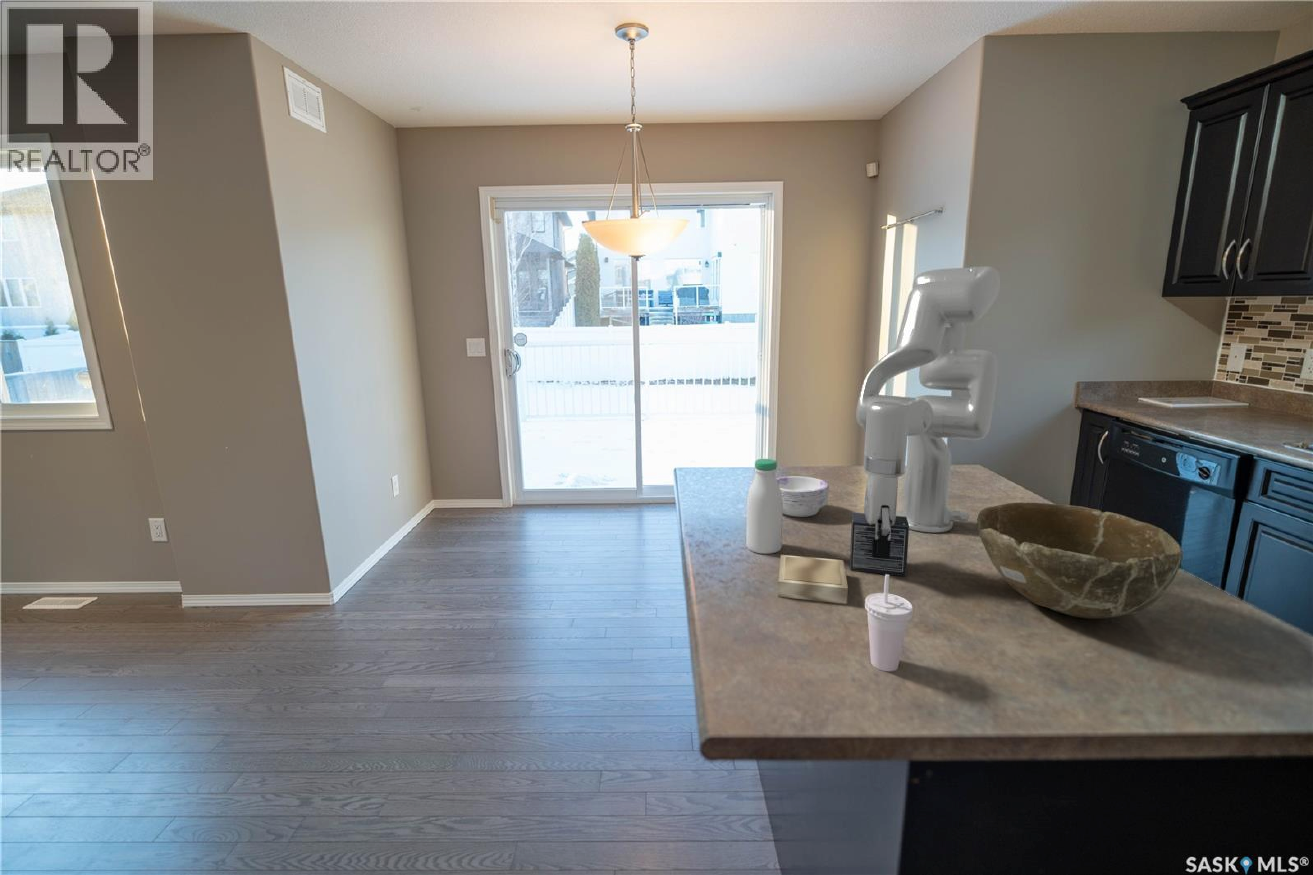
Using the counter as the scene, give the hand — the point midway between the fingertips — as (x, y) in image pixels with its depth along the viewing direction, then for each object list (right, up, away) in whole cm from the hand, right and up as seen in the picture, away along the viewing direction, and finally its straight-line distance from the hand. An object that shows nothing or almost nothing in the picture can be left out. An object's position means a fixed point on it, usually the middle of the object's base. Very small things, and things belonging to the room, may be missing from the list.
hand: (878, 549), depth 112 cm
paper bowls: (-8, +3, +34) cm, 35 cm away
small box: (0, -4, +1) cm, 4 cm away
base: (-15, -5, -6) cm, 17 cm away
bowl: (+26, -7, -16) cm, 31 cm away
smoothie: (-11, -11, -31) cm, 34 cm away
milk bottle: (-21, -2, +11) cm, 24 cm away
